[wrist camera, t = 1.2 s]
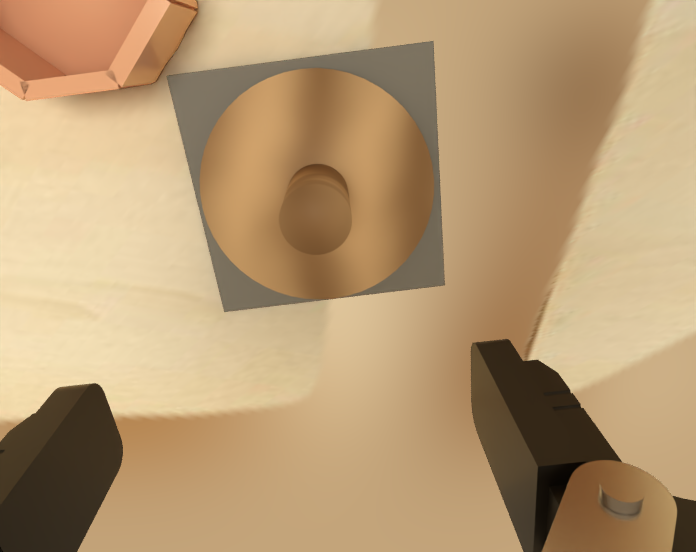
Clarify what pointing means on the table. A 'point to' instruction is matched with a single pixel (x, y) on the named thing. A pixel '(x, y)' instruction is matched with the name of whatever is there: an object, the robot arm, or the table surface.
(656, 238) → the table surface
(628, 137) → the table surface
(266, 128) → the lid
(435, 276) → the mat
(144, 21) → the bowl
